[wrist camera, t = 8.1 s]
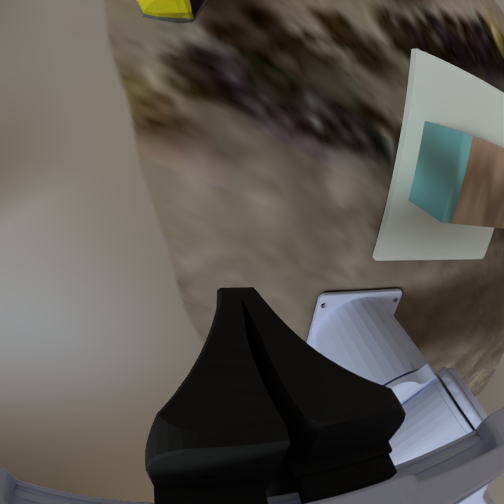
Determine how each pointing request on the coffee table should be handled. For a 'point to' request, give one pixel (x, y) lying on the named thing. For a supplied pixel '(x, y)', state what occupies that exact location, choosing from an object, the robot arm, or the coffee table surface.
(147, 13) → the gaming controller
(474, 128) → the sage mat
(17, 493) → the robot arm
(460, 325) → the coffee table surface
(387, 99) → the coffee table surface
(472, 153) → the walnut block
